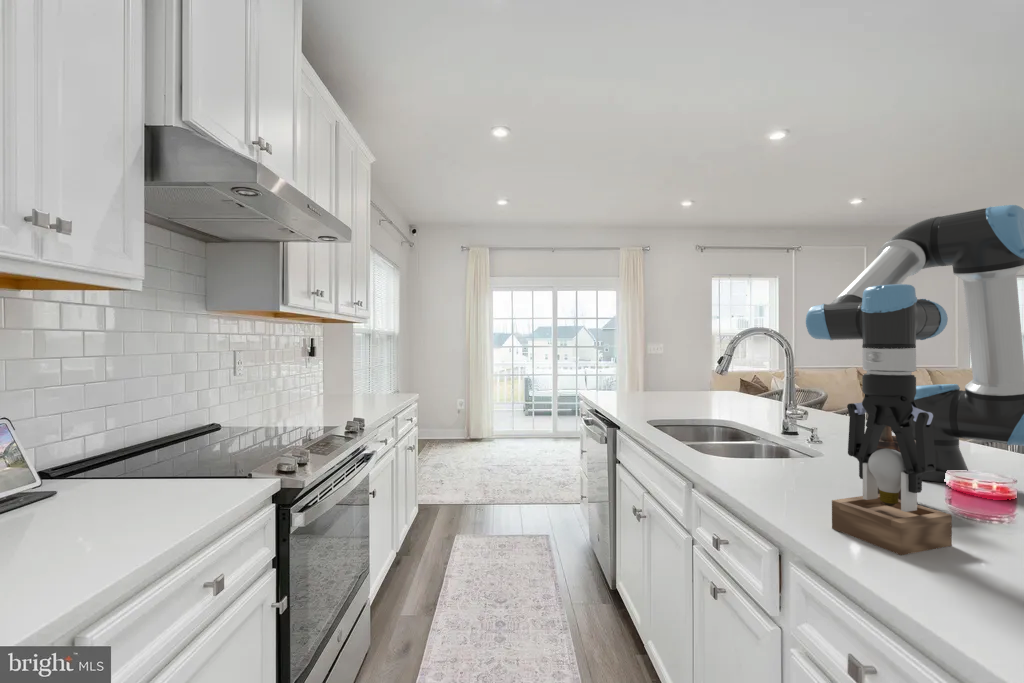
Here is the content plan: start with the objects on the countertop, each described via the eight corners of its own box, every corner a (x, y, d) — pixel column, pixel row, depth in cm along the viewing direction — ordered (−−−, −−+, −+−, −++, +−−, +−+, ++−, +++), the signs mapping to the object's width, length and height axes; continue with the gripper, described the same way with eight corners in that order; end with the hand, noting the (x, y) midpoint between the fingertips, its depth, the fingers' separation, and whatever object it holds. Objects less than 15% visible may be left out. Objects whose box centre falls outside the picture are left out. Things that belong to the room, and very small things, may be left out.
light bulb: (902, 502, 88) (901, 446, 88) (917, 513, 82) (916, 453, 82) (863, 498, 90) (863, 444, 90) (875, 509, 84) (875, 451, 84)
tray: (879, 520, 94) (879, 493, 94) (951, 545, 82) (951, 514, 82) (831, 528, 90) (831, 500, 90) (900, 555, 79) (900, 523, 79)
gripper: (823, 370, 94) (824, 490, 94) (933, 377, 76) (934, 525, 76) (852, 369, 96) (853, 487, 96) (966, 376, 78) (966, 520, 78)
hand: (888, 504), depth 86 cm, fingers closed on light bulb, 6 cm apart
